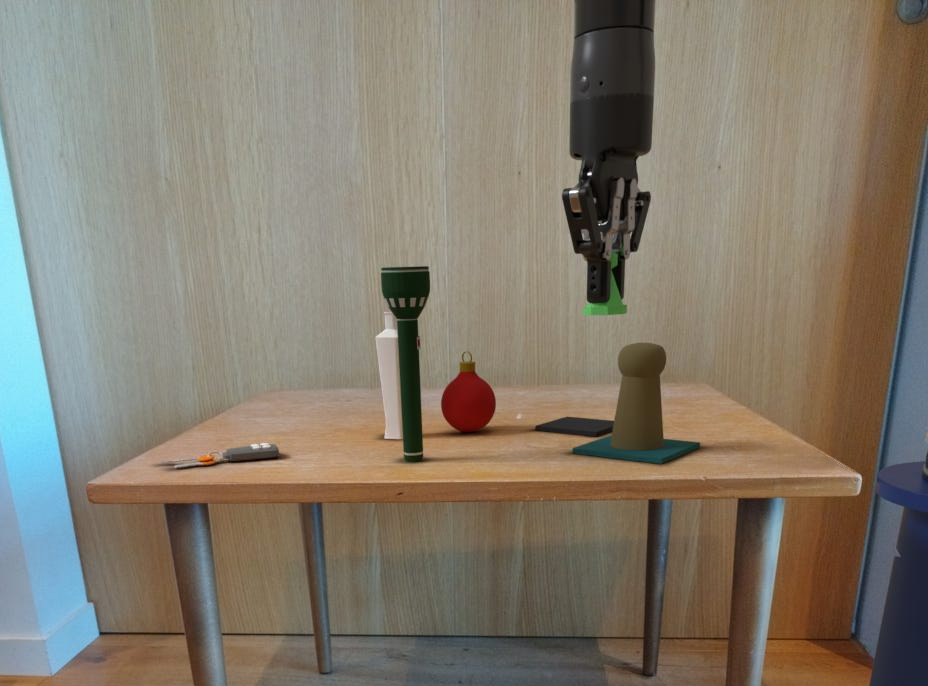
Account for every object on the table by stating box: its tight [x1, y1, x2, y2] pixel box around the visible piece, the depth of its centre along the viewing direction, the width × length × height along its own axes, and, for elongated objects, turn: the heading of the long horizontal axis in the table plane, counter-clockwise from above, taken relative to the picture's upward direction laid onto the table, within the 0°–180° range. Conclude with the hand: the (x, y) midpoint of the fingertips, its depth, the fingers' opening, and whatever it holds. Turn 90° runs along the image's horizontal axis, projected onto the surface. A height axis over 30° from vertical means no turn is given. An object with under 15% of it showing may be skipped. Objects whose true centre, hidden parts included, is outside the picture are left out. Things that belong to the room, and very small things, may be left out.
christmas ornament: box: [440, 350, 497, 433], centre depth 109 cm, size 7×7×10 cm
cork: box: [610, 342, 667, 450], centre depth 94 cm, size 6×6×11 cm
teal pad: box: [571, 434, 701, 465], centre depth 97 cm, size 11×10×1 cm
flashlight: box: [380, 265, 431, 463], centre depth 92 cm, size 5×5×20 cm
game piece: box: [582, 251, 628, 316], centre depth 83 cm, size 4×4×6 cm
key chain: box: [162, 442, 280, 469], centre depth 98 cm, size 13×4×2 cm, turn 111°
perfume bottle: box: [374, 311, 403, 440], centre depth 106 cm, size 5×4×15 cm
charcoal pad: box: [534, 416, 614, 437], centre depth 110 cm, size 9×8×1 cm
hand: (605, 301), depth 84 cm, fingers closed on game piece, 2 cm apart
